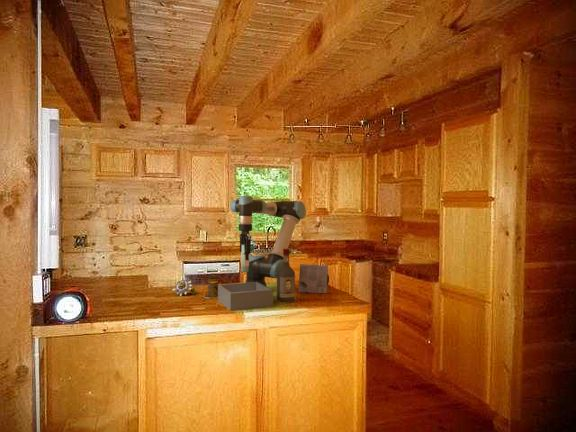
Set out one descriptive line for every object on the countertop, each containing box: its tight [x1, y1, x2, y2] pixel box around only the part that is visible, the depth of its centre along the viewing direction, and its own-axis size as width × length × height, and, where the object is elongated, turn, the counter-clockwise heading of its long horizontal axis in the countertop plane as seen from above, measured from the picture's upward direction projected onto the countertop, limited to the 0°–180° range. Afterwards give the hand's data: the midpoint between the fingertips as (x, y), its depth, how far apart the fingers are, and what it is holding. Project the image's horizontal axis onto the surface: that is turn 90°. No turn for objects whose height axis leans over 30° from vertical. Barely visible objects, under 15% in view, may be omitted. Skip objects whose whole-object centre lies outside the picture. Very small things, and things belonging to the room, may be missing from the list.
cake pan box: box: [298, 263, 330, 294], centre depth 252 cm, size 19×5×18 cm, turn 84°
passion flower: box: [171, 277, 196, 297], centre depth 240 cm, size 11×11×12 cm
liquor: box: [276, 248, 296, 303], centre depth 228 cm, size 9×9×30 cm
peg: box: [240, 245, 248, 273], centre depth 220 cm, size 4×4×15 cm
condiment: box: [202, 275, 219, 299], centre depth 236 cm, size 7×8×12 cm
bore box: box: [217, 282, 274, 312], centre depth 221 cm, size 24×24×9 cm
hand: (244, 265), depth 220 cm, fingers closed on peg, 4 cm apart
